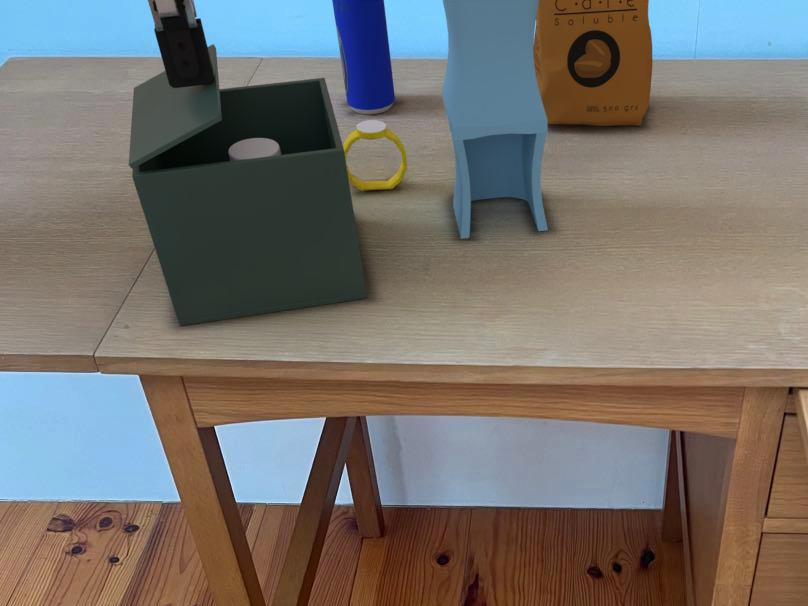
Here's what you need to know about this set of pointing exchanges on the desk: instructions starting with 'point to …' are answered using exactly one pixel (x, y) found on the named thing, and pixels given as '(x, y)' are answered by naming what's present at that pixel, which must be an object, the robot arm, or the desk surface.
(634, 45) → the coffee package
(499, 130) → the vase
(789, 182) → the desk surface
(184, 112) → the box flap
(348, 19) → the beverage can
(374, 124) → the watch
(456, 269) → the desk surface
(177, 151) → the open box
